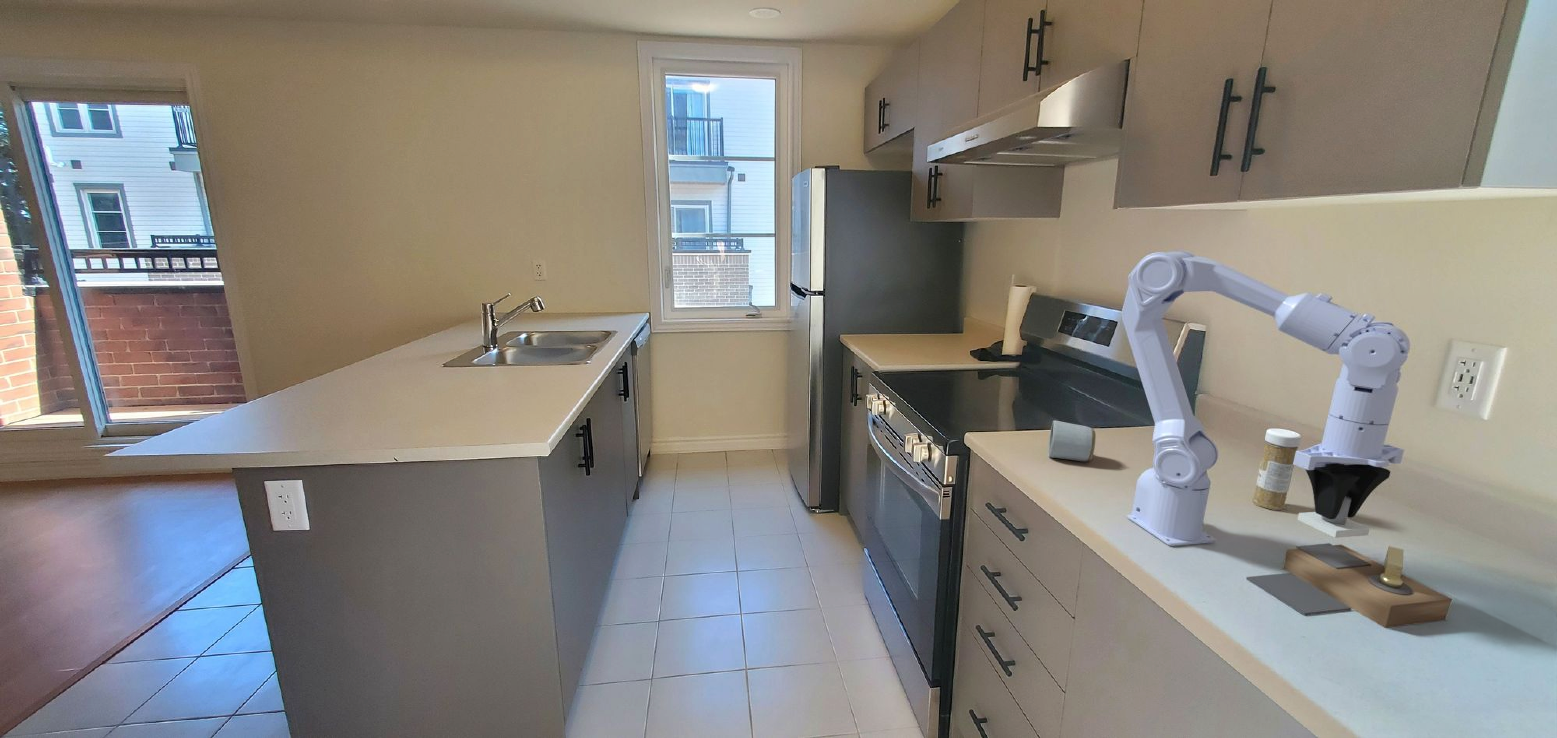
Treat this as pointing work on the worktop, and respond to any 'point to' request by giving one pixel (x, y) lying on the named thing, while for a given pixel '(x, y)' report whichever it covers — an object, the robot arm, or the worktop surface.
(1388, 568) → the lever handle
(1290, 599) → the mat
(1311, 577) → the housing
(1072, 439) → the ceramic mug
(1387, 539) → the worktop surface
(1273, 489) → the sprinkles bottle
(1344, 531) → the cover
